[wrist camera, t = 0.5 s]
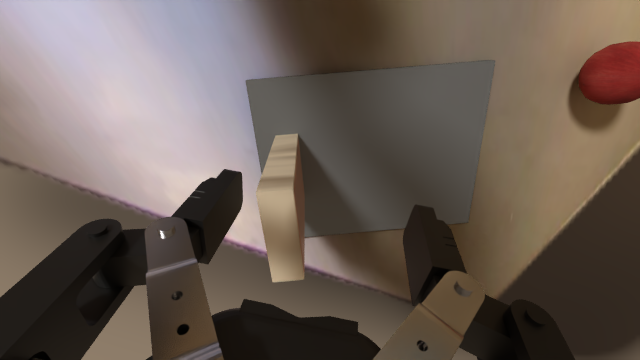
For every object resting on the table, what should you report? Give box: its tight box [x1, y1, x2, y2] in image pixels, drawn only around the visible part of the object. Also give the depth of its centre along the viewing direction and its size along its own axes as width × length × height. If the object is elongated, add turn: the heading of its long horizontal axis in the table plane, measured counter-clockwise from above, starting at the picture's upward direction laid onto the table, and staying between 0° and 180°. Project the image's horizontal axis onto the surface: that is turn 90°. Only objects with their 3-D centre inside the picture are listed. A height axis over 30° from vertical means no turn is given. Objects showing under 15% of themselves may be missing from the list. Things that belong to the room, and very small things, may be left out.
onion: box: [579, 42, 640, 105], centre depth 28 cm, size 6×6×8 cm
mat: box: [246, 60, 495, 237], centre depth 34 cm, size 20×26×1 cm
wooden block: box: [256, 134, 305, 282], centre depth 27 cm, size 8×2×14 cm, turn 4°
